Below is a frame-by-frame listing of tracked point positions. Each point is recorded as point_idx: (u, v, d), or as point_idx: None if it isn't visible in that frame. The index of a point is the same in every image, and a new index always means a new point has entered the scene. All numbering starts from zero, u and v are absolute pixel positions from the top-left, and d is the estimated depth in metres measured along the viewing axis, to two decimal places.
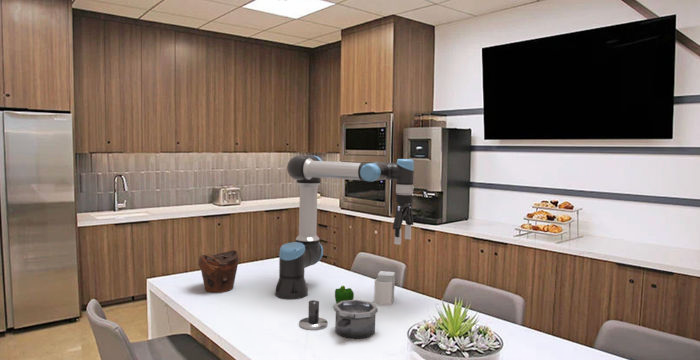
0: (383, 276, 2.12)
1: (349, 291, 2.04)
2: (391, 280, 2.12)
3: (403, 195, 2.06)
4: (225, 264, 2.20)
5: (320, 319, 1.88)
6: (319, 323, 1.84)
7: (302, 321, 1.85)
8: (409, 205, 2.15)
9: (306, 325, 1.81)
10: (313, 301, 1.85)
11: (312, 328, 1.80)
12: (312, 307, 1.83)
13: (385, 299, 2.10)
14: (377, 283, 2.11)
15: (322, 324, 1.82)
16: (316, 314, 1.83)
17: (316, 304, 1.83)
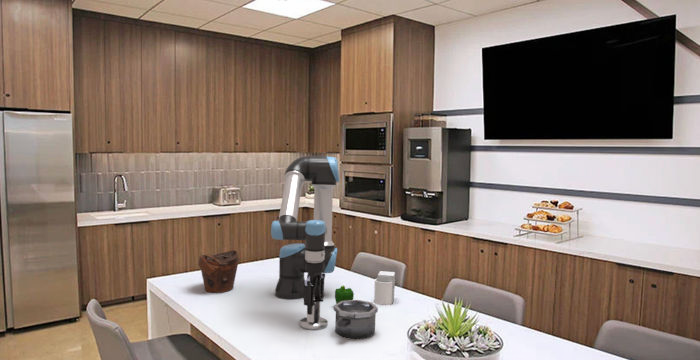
0: (383, 276, 2.12)
1: (349, 291, 2.04)
2: (391, 280, 2.12)
3: (312, 263, 1.80)
4: (225, 264, 2.20)
5: (320, 319, 1.88)
6: (319, 323, 1.84)
7: (302, 321, 1.85)
8: (322, 275, 1.88)
9: (307, 325, 1.81)
10: None
11: (313, 328, 1.80)
12: None
13: (385, 299, 2.10)
14: (377, 283, 2.11)
15: (323, 324, 1.83)
16: (316, 314, 1.83)
17: (316, 304, 1.83)
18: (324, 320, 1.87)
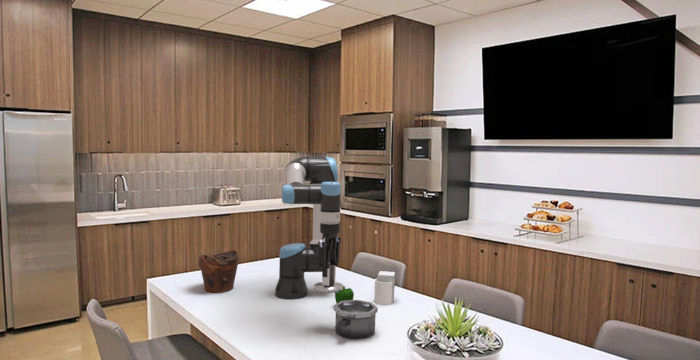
0: (383, 276, 2.12)
1: (349, 291, 2.04)
2: (391, 280, 2.12)
3: (327, 224, 1.77)
4: (225, 264, 2.20)
5: (335, 283, 1.84)
6: (334, 286, 1.80)
7: (317, 285, 1.82)
8: (338, 238, 1.85)
9: (322, 288, 1.78)
10: None
11: (328, 290, 1.76)
12: None
13: (385, 299, 2.10)
14: (377, 283, 2.11)
15: (338, 287, 1.79)
16: (331, 277, 1.80)
17: (331, 266, 1.79)
18: (339, 284, 1.83)
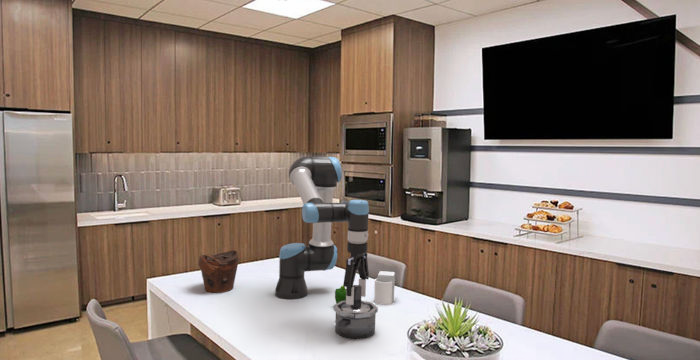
0: (383, 276, 2.12)
1: None
2: (391, 280, 2.12)
3: (355, 244, 1.74)
4: (225, 264, 2.20)
5: (361, 304, 1.82)
6: (362, 308, 1.78)
7: (344, 307, 1.79)
8: (364, 254, 1.82)
9: (349, 310, 1.75)
10: (355, 286, 1.79)
11: None
12: (356, 292, 1.76)
13: (385, 299, 2.10)
14: (377, 283, 2.11)
15: (366, 309, 1.76)
16: (359, 299, 1.77)
17: (359, 289, 1.77)
18: (366, 306, 1.81)
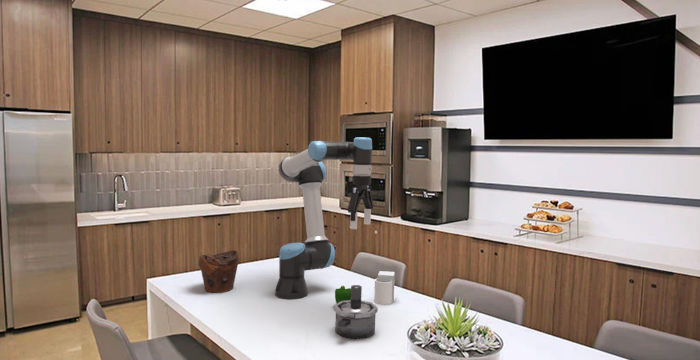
0: (383, 276, 2.12)
1: (349, 291, 2.04)
2: (391, 280, 2.12)
3: (360, 176, 1.91)
4: (225, 264, 2.20)
5: (361, 304, 1.82)
6: (362, 308, 1.78)
7: (344, 307, 1.79)
8: (368, 187, 2.00)
9: (349, 310, 1.75)
10: (355, 286, 1.79)
11: None
12: (356, 292, 1.76)
13: (385, 299, 2.11)
14: (377, 283, 2.11)
15: (366, 309, 1.76)
16: (359, 299, 1.77)
17: (359, 289, 1.77)
18: (366, 306, 1.81)
